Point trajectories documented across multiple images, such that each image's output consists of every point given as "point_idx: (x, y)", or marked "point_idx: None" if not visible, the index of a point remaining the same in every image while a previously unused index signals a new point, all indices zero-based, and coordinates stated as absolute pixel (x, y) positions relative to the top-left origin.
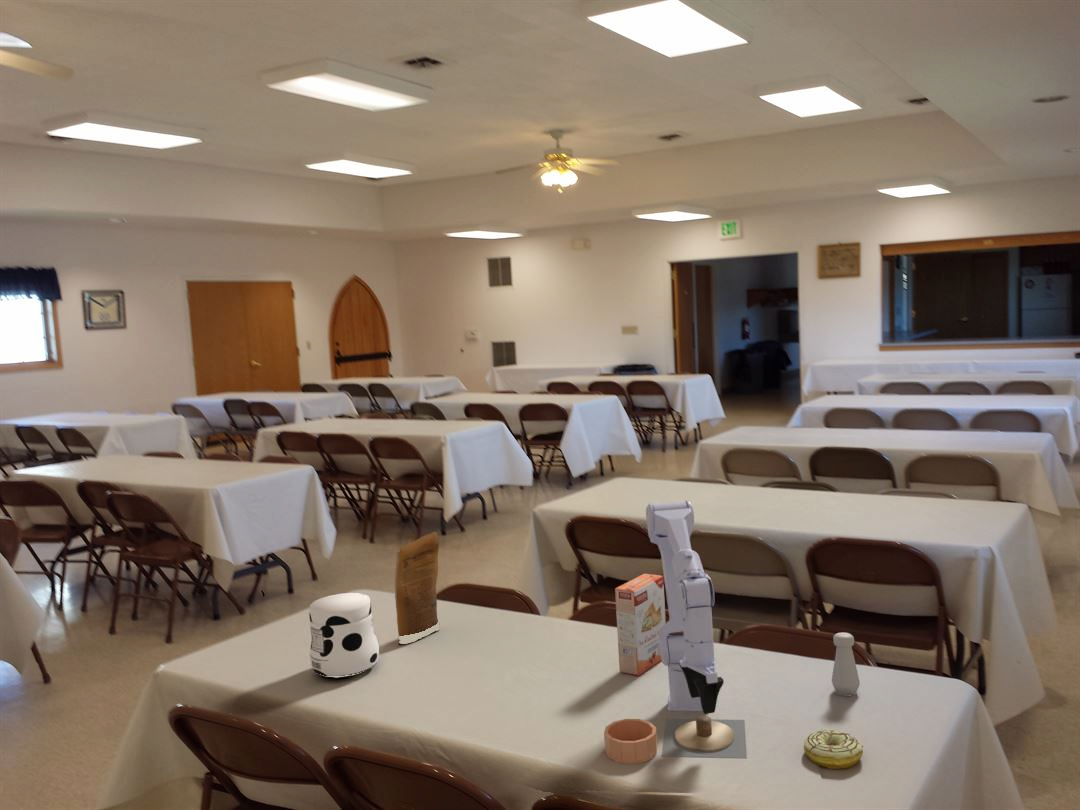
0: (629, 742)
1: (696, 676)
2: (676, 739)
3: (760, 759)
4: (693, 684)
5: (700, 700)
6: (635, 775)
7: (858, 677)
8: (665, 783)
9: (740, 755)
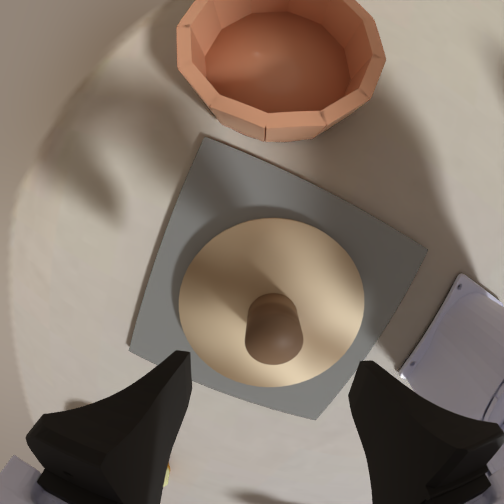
0: (187, 13)
1: (386, 454)
2: (281, 218)
3: (130, 371)
4: (380, 412)
5: (167, 380)
6: (148, 51)
7: None
8: (85, 116)
9: (143, 345)
